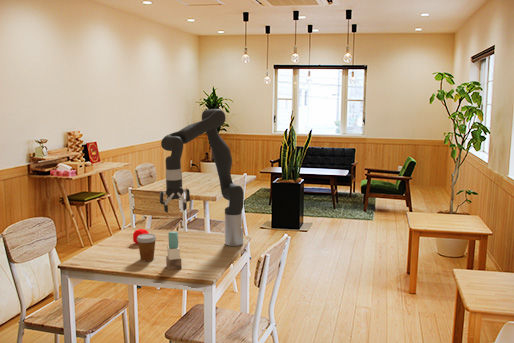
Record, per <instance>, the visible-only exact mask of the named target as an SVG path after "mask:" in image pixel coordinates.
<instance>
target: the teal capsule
mask: <svg viewBox="0 0 514 343" xmlns="http://www.w3.org/2000/svg"><path fill="white" fill-rule="evenodd" d="M178 233H179V232H178V231H169V232H168V246H169V248H177V247H179V234H178Z"/></svg>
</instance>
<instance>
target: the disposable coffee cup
mask: <svg viewBox="0 0 514 343" xmlns="http://www.w3.org/2000/svg"><path fill="white" fill-rule="evenodd" d="M156 240H157V237H156V234H153V233H149V234H141V235H139V236H138V237H137V241H138V244H137V245H138V250H139V255H140V260H141V261H142V262H152V261H153V260H155V249H156Z"/></svg>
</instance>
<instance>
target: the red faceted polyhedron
mask: <svg viewBox="0 0 514 343" xmlns="http://www.w3.org/2000/svg"><path fill="white" fill-rule="evenodd" d="M141 234H150V232H149V231H148V230H146V229H144V228H139V229H136V230H134V232H133V233H132V242H133V243H134V244H136V245H138V241H137V237H138V236H139V235H141Z"/></svg>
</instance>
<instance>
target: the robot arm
mask: <svg viewBox="0 0 514 343" xmlns="http://www.w3.org/2000/svg"><path fill="white" fill-rule="evenodd" d="M225 122H226V113H225V112H224V110H222V109H219V108H213V109H212V108H211V109H205V110H203V111H202V112H201V120H200V121H197V122H194V123H191V124H188V125H187V126H184V127H182V129H180V130H179V131H178V130H177V131H174V132H172V133H169V134H167V135H165V136H164V137H163V138H162V139H161V143H160V146H161V148H162V149H163V150H164V151H168V152H171V153H170V155H169V156H166V158H165V185H166V190H165V191H163V190H160V191H159V204H161V205H162V206H163V211H164V212H165V213H167V214H168V213H169V206H168V203H170V202H171V200H172V201H173V200H179V199H180V200H181V201H182V210H183V211H186V210H187V206H188V205H187V203H188V202H190V201H191V196H190V194H191V193H190V189H189V188H187V187H186V188H185V189H183V174H182V173H183V172H182V162H181V160H182V155H183V152H184V151H183V150H184V145H185V144H188V143H189V142H191V141H193V140H194V139H197V138H198V137H200V136H201V135H203V134H205V133H206V136H207V139H208V142H209V145H210V150H211V152H212V157H213V160H214V164H215V167H216V171H217V175H218V178H219V180H218V181H219V186H220V192H221V195H222V198H223V199H225V200H226V201H228V206H227V207H225V208H224V244H226V245H225V246H227V245H228V247H240V246H241V245H244V227H243V226H242V225H243V212H242V211H243V209H244V199H245V198H244V197H245V196H244V194H245V193H244V188H243V186H241V185H239V184H235V183H234V182H233V180H232V175H231V170H232V165H233V157H232V154H231V150H230V147H229V145H228V144H227V143H226V141H225V140H224V139H222V137H221V136H220V134H219V131H218V128H220V127H222V126H223V125H224V124H225ZM183 194H185V196H186V197H185V198H186V199H185V198H184V196H183ZM165 195H166V198H165V200H164V197H165Z"/></svg>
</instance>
